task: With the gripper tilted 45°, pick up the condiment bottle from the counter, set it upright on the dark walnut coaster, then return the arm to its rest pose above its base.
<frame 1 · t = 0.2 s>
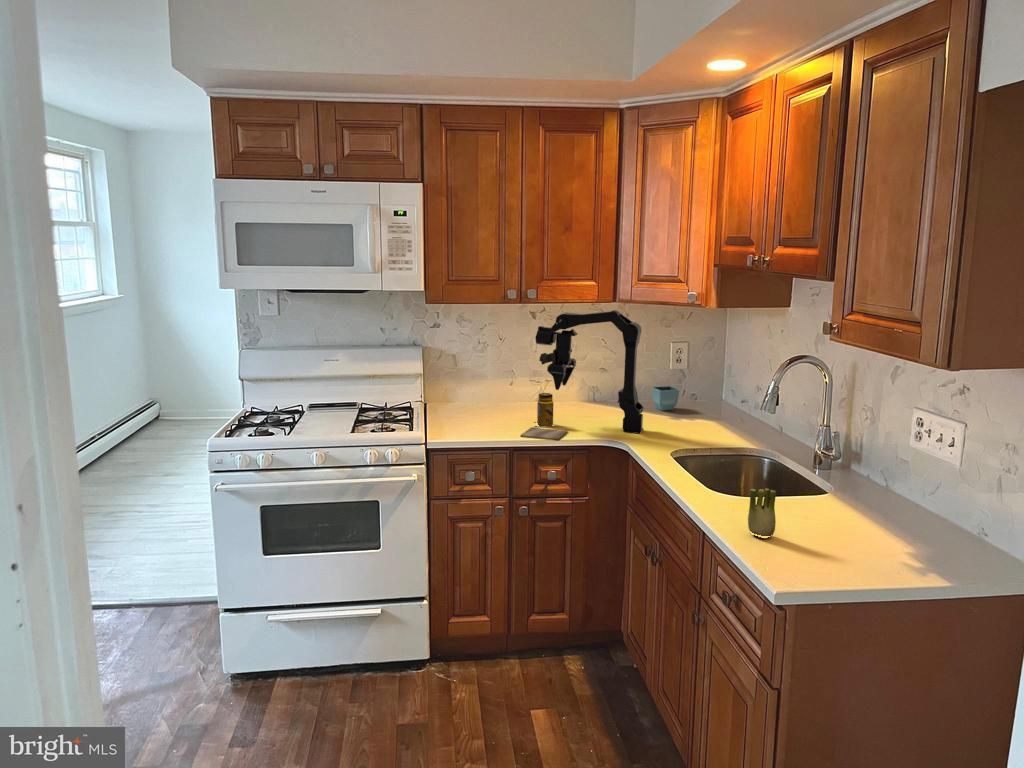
hand: (560, 387, 293), 14 cm above the worktop, tool pointing down, fingers open, 9 cm apart
fennel bulb: (761, 537, 186), on the worktop
walnut coaster: (544, 434, 281), on the worktop
flower pot: (664, 409, 323), on the worktop
condiment: (542, 425, 295), on the worktop
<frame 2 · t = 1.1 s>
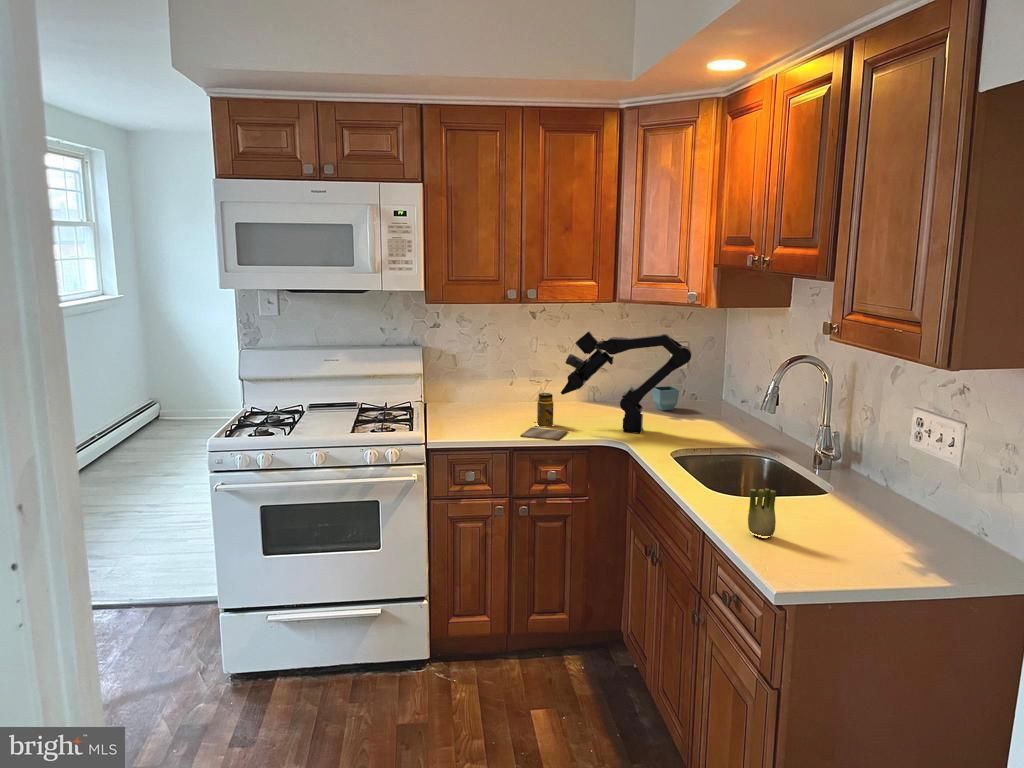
hand: (563, 391, 291), 13 cm above the worktop, tool tilted 45°, fingers open, 9 cm apart
nothing on the worktop moved.
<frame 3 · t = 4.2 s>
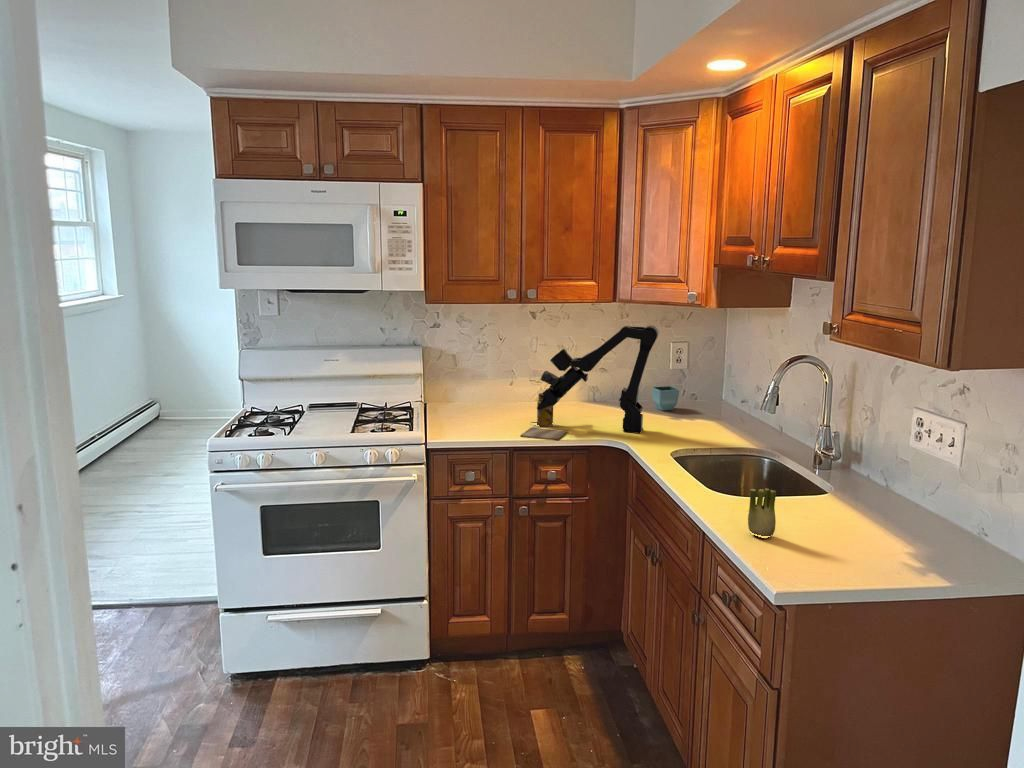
hand: (539, 407, 295), 7 cm above the worktop, tool tilted 45°, fingers closed on condiment, 6 cm apart
condiment: (542, 425, 295), on the worktop, touching gripper
everything else where it was.
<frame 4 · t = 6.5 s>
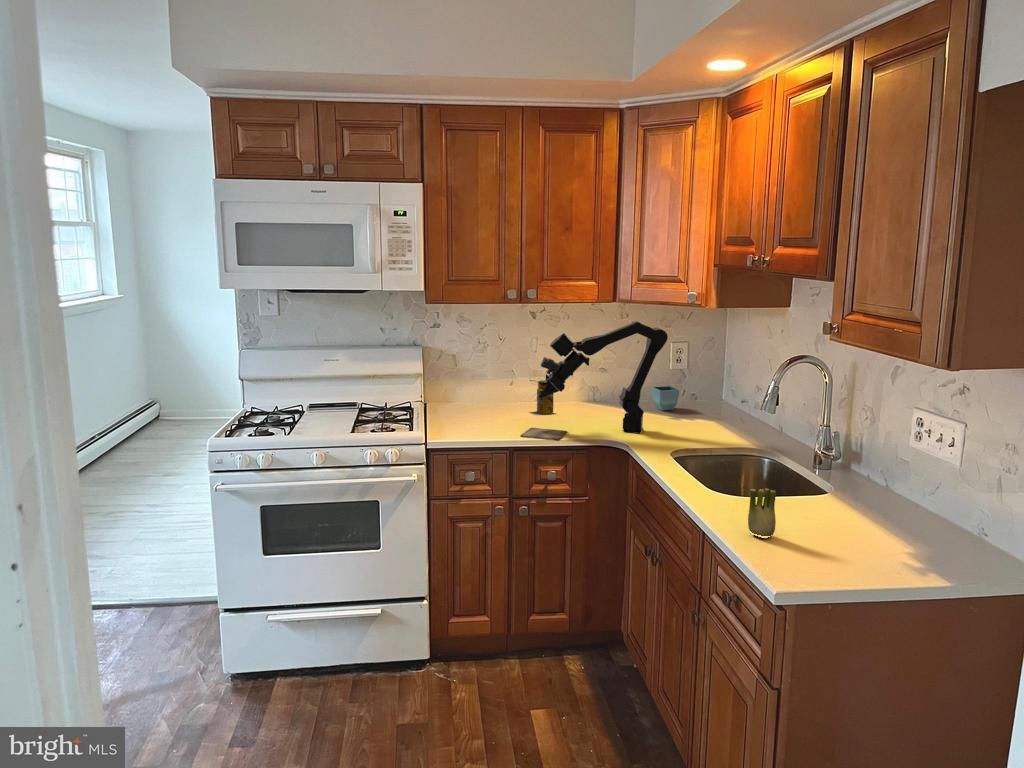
hand: (539, 395, 283), 13 cm above the worktop, tool tilted 45°, fingers closed on condiment, 6 cm apart
condiment: (542, 414, 284), point 6 cm above the worktop, touching gripper
everything else where it was.
when the fingers open (8 cm above the worktop, at t = 9.2 s): condiment stays where it is, resting on walnut coaster.
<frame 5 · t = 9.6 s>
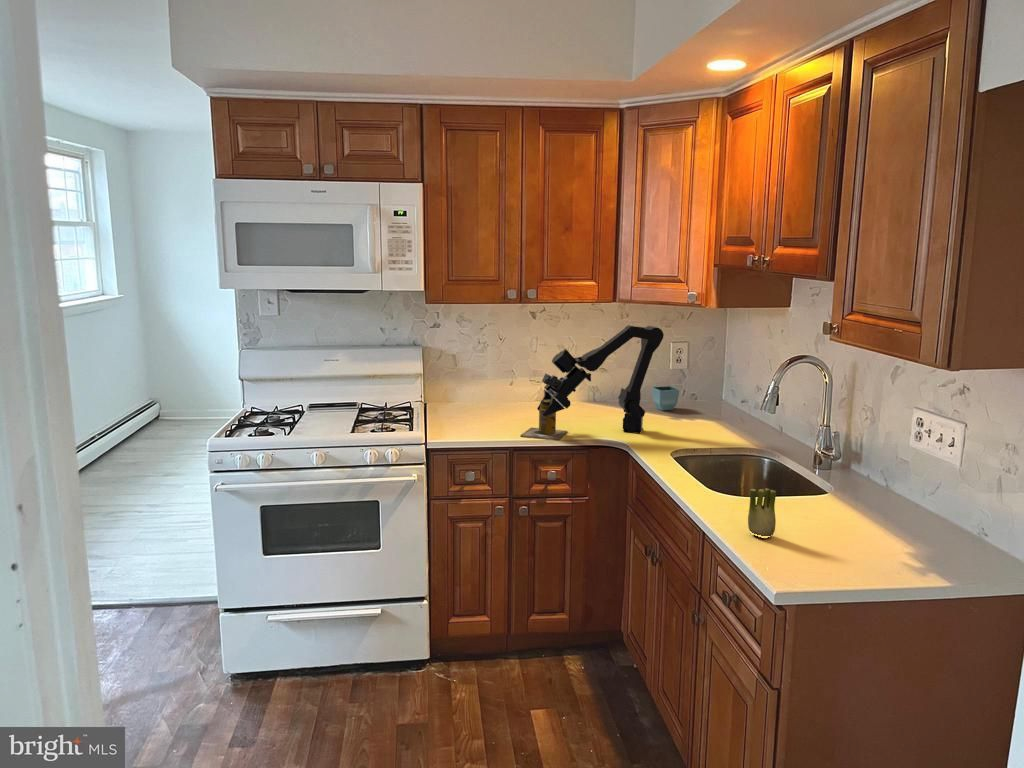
hand: (540, 412, 279), 8 cm above the worktop, tool tilted 45°, fingers open, 9 cm apart
condiment: (545, 433, 280), resting on walnut coaster
everything else where it was.
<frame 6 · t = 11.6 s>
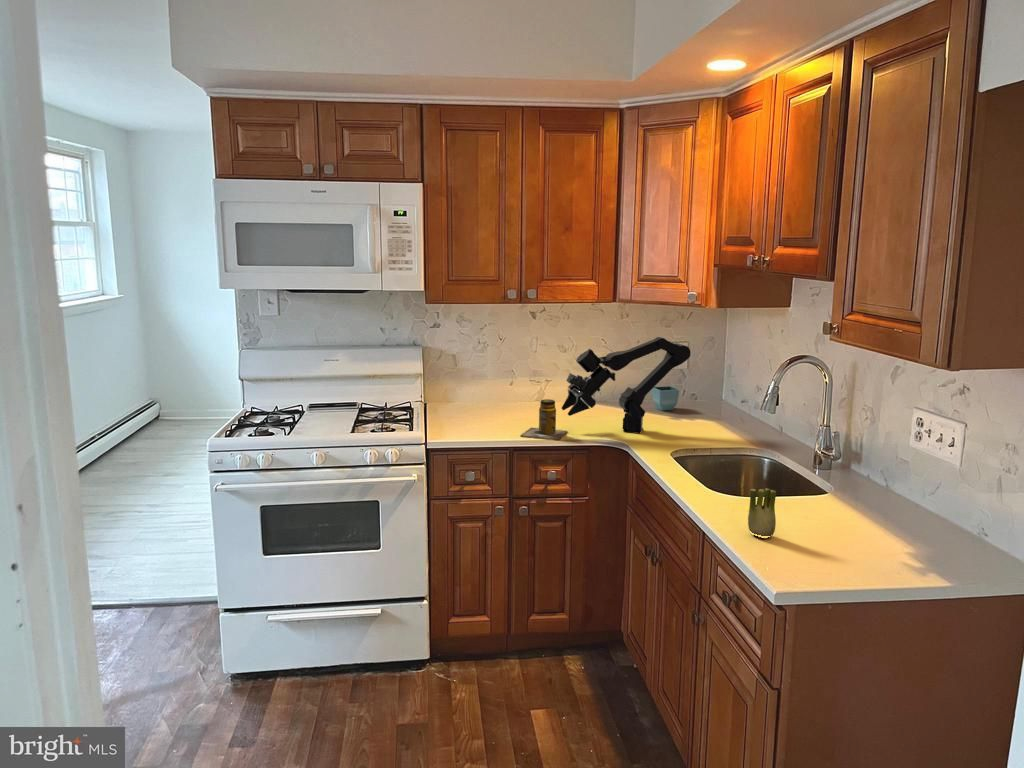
hand: (565, 412, 281), 8 cm above the worktop, tool tilted 45°, fingers open, 9 cm apart
nothing on the worktop moved.
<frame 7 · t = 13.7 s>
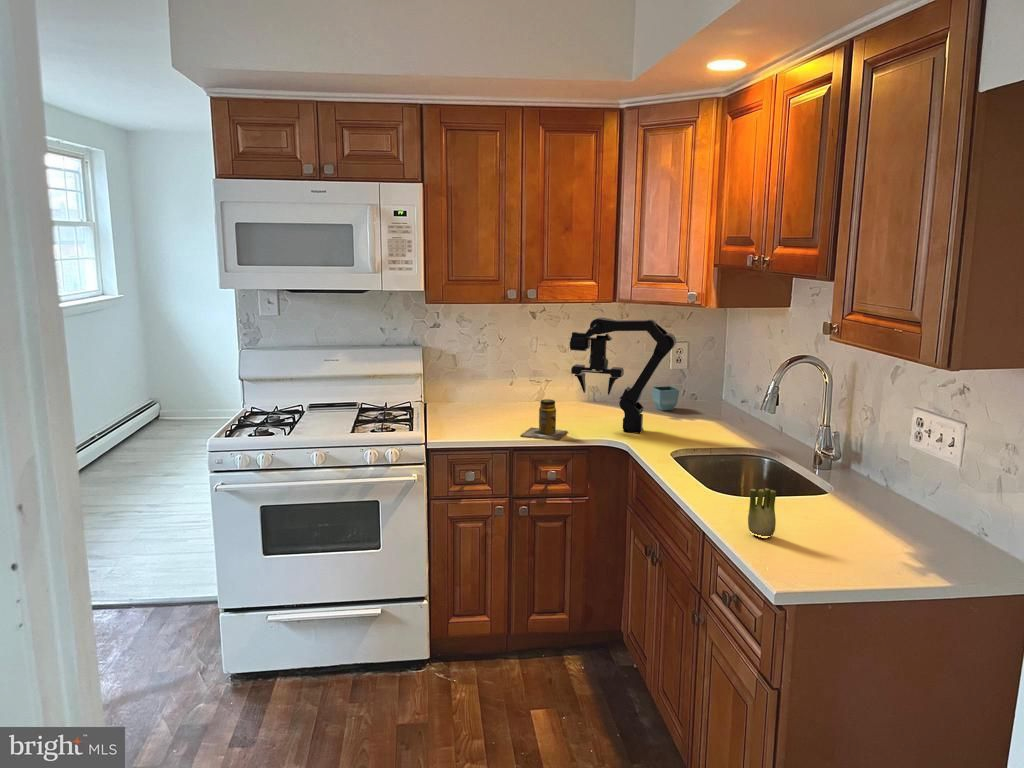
hand: (596, 393, 289), 13 cm above the worktop, tool pointing down, fingers open, 9 cm apart
nothing on the worktop moved.
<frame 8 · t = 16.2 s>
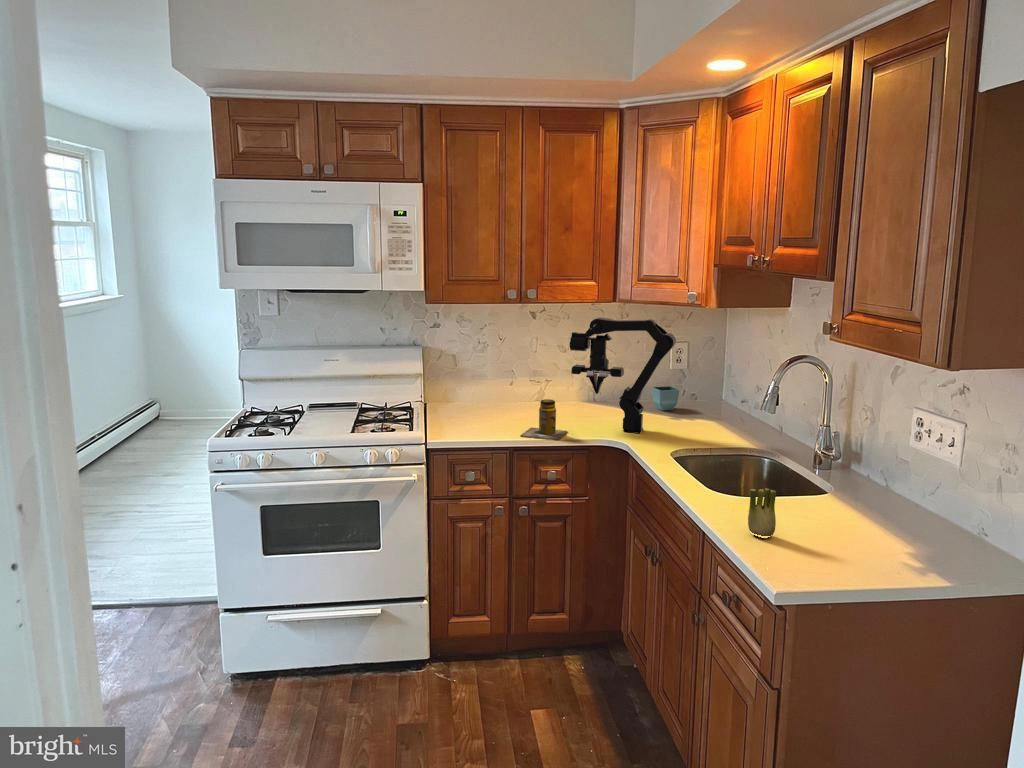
hand: (596, 393, 289), 13 cm above the worktop, tool pointing down, fingers closed
nothing on the worktop moved.
at the end: condiment inside the target area on the walnut coaster (0.5 cm from its centre), point 0.4 cm above the walnut coaster's base; condiment tilted 0°; the gripper is holding nothing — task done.
